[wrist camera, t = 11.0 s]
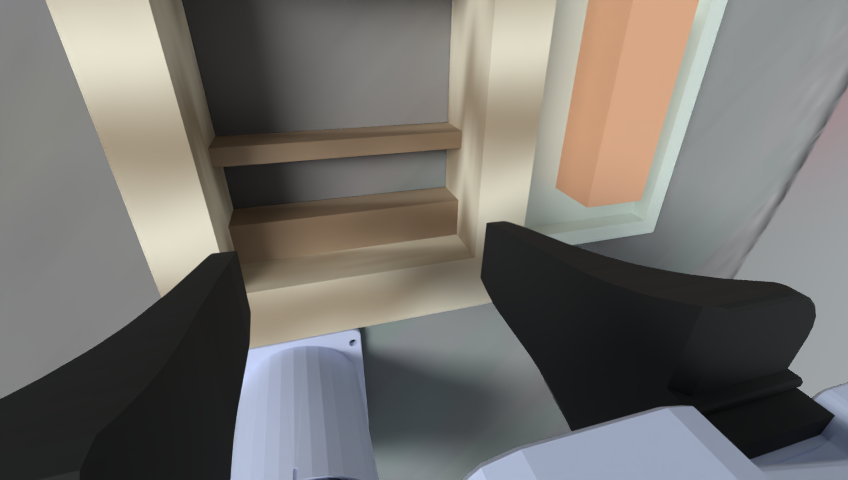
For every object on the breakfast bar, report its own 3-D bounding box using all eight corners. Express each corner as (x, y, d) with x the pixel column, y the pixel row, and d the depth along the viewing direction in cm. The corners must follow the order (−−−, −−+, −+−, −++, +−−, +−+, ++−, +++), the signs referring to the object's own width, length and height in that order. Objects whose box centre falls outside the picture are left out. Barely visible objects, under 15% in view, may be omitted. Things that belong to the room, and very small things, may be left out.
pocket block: (480, 256, 25) (513, 298, 21) (204, 300, 21) (185, 360, 17) (513, -128, 16) (581, -173, 13) (47, -181, 12) (-59, -269, 9)
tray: (633, 220, 28) (653, 232, 26) (488, 242, 25) (501, 256, 23) (715, -66, 20) (751, -73, 18) (520, -81, 17) (542, -91, 16)
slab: (604, 182, 25) (640, 200, 22) (555, 187, 24) (586, 207, 21) (650, -8, 20) (702, -13, 17) (590, -11, 19) (636, -15, 16)
